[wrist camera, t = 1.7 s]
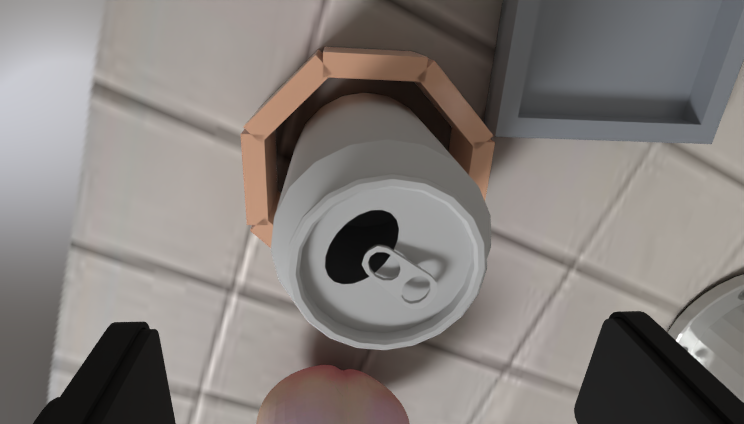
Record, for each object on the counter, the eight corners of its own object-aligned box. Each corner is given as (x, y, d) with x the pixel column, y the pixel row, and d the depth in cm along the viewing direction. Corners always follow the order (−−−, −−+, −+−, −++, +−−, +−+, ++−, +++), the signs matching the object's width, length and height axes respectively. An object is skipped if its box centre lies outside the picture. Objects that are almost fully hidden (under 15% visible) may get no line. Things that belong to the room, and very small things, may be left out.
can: (348, 59, 22) (364, 97, 11) (457, 144, 24) (560, 247, 13) (268, 173, 24) (214, 303, 13) (375, 242, 26) (406, 401, 15)
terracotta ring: (480, 54, 22) (509, 61, 18) (451, 250, 27) (470, 287, 23) (251, 42, 21) (234, 47, 17) (262, 249, 26) (251, 287, 22)
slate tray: (772, -119, 20) (816, -133, 18) (683, 134, 25) (711, 144, 23) (525, -144, 19) (546, -162, 17) (482, 127, 24) (495, 136, 22)
